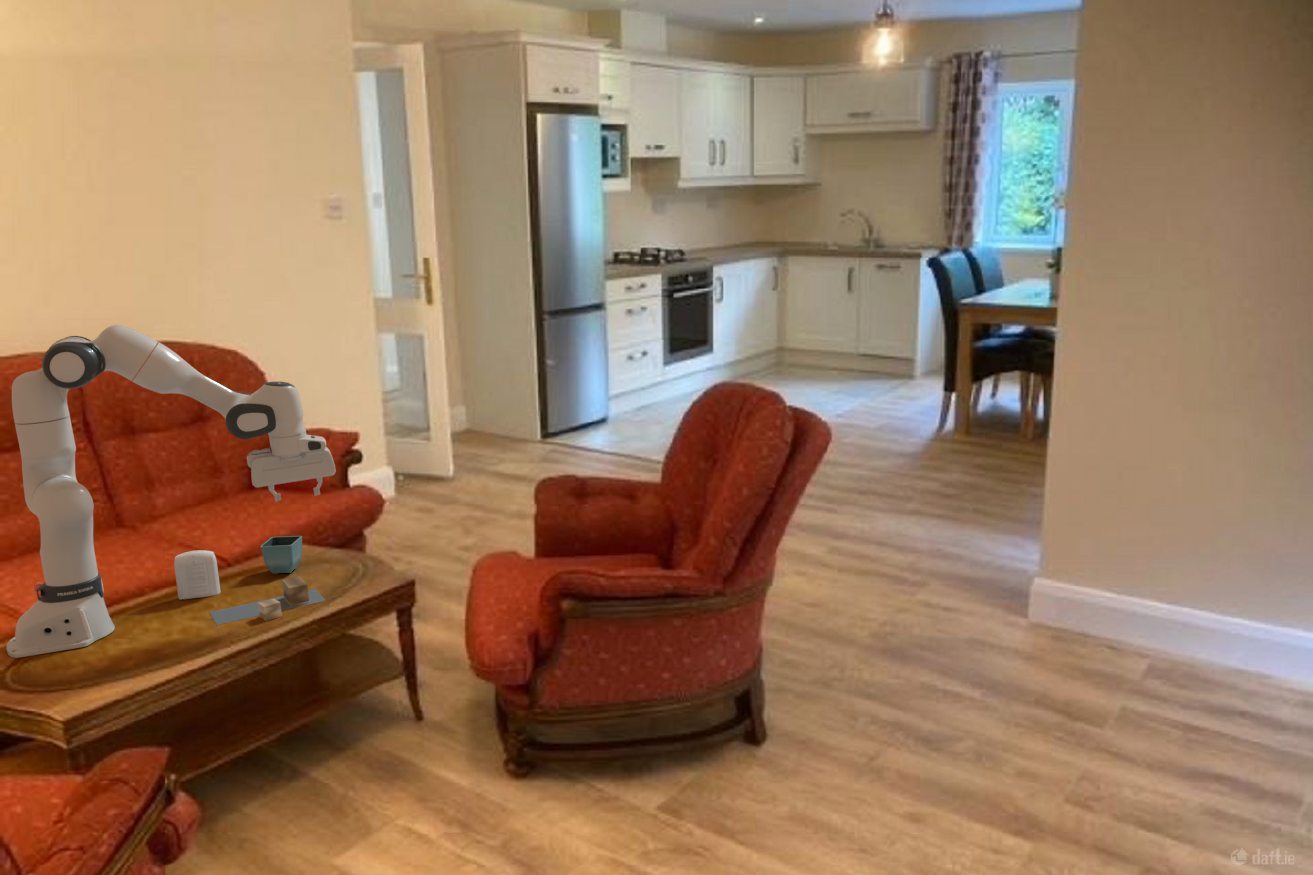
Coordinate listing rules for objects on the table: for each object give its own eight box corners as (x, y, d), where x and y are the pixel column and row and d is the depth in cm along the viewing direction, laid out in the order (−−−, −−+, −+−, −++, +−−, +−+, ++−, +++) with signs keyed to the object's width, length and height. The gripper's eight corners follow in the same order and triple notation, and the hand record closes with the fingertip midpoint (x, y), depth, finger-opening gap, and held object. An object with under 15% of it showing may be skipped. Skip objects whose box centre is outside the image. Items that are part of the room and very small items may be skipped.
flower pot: (295, 576, 282) (291, 544, 280) (263, 577, 282) (259, 546, 281) (306, 565, 291) (302, 535, 289) (275, 567, 291) (271, 536, 289)
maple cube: (266, 622, 249) (263, 606, 248) (259, 618, 252) (257, 602, 251) (282, 617, 252) (280, 602, 251) (275, 613, 254) (273, 598, 254)
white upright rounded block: (222, 590, 273) (215, 546, 271) (220, 595, 269) (213, 550, 267) (180, 596, 270) (173, 551, 268) (177, 601, 266) (170, 556, 264)
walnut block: (291, 606, 258) (288, 588, 257) (284, 597, 265) (281, 579, 264) (309, 602, 260) (307, 584, 259) (301, 593, 267) (299, 576, 266)
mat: (217, 626, 248) (216, 625, 248) (209, 613, 257) (209, 611, 257) (326, 601, 261) (325, 600, 261) (315, 589, 270) (315, 588, 270)
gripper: (245, 454, 251) (254, 508, 254) (331, 441, 258) (339, 494, 261) (245, 448, 257) (254, 501, 260) (330, 436, 264) (338, 488, 267)
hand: (298, 497), depth 261 cm, fingers open, 8 cm apart
